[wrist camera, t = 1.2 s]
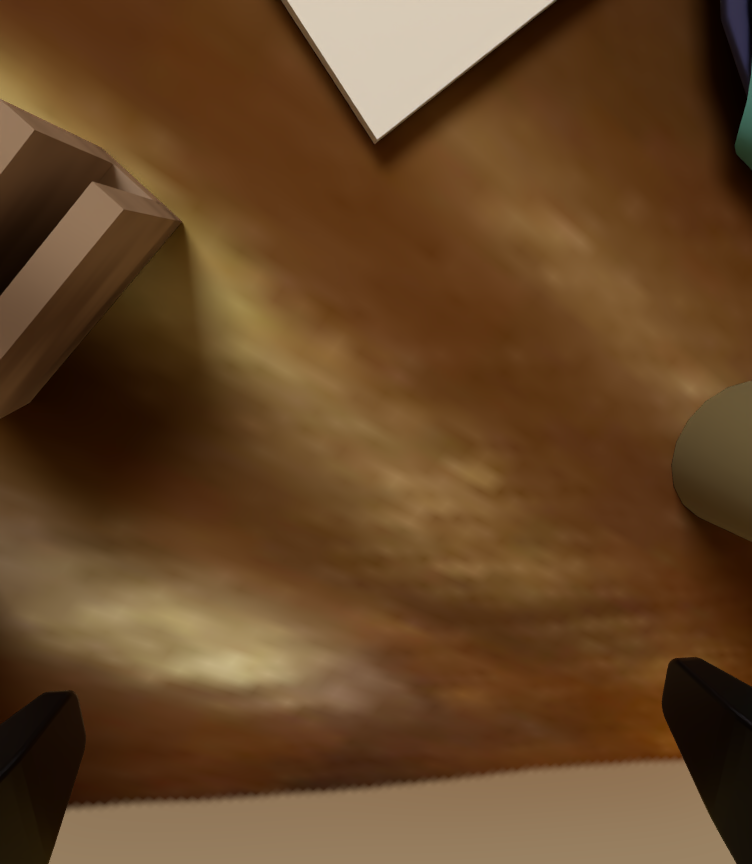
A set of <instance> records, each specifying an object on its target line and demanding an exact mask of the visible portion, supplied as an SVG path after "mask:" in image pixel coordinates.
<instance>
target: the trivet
mask: <svg viewBox="0 0 752 864" xmlns="http://www.w3.org/2000/svg"><path fill="white" fill-rule="evenodd" d="M281 1H282V2H283V4H284V6H285V7H286V9H287V10H288V12H289V13H290V15H291V16H292V18H293V19H294V21H295V22H296V24H297V26H298V27H299V29H300V30H301V32H302V33H303V35H304V36H305V38H306V39H307V41H308V43H309V44H310V46H311V47H312V49H313V50H314V52H315V53H316V55H317V56H318V58H319V59H320V61H321V63H322V64H323V66H324V67H325V69H326V70H327V72H328V73H329V75H330V76H331V78H332V80H333V81H334V83H335V84H336V86H337V87H338V89H339V90H340V92H341V93H342V95H343V96H344V98H345V100H346V101H347V103H348V104H349V106H350V107H351V109H352V110H353V112H354V113H355V115H356V117H357V118H358V120H359V121H360V123H361V124H362V126H363V127H364V129H365V130H366V132H367V133H368V135H369V137H370V138H371V140H372V141H373V143H374V144H375V143H377V142H378V141H379V140H381V139H382V138H383V137H384V136H386V135H387V134H388V133H389V132H391V131H392V130H393V129H395V128H396V127H397V126H398V125H400V124H401V123H402V122H403V121H405V120H406V119H407V118H408V117H410V116H411V115H412V114H414V113H415V112H416V111H417V110H419V109H420V108H421V107H422V106H424V105H425V104H426V103H428V102H429V101H430V100H431V99H433V98H434V97H435V96H436V95H438V94H439V93H440V92H441V91H443V90H444V89H445V88H447V87H448V86H449V85H450V84H452V83H453V82H454V81H455V80H457V79H458V78H459V77H460V76H462V75H463V74H464V73H466V72H467V71H468V70H469V69H471V68H472V67H473V66H474V65H476V64H477V63H478V62H480V61H481V60H482V59H483V58H485V57H486V56H487V55H488V54H490V53H491V52H492V51H493V50H495V49H496V48H497V47H499V46H500V45H501V44H502V43H504V42H505V41H506V40H507V39H509V38H510V37H511V36H513V35H514V34H515V33H516V32H518V31H519V30H520V29H521V28H523V27H524V26H525V25H526V24H528V23H529V22H530V21H532V20H533V19H534V18H535V17H537V16H538V15H539V14H540V13H542V12H543V11H544V10H545V9H547V8H548V7H549V6H551V5H552V4H553V3H554V2H556V1H557V0H281Z"/></svg>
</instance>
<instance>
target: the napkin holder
mask: <svg viewBox="0 0 752 864" xmlns="http://www.w3.org/2000/svg"><path fill="white" fill-rule="evenodd" d="M181 222H182V221H181V220H180V219H179V218H178V217H177V216H176V215H174V214H173V213H172V212H171V211H170V210H169V209H168V208H167V207H166V206H165V205H163V204H162V203H161V202H160V201H159V200H158V199H157V198H156V197H155V196H154V195H153V194H151V193H150V192H149V191H148V190H147V189H146V188H145V187H144V186H143V185H142V184H141V183H139V182H138V181H137V180H136V179H135V178H134V177H133V176H132V175H131V174H130V173H129V172H127V171H126V170H125V169H124V168H123V167H122V166H121V165H120V164H119V163H118V162H117V161H115V160H114V159H113V158H112V157H111V156H110V155H109V154H108V153H107V152H106V151H105V150H103V149H102V148H101V147H99V146H97V145H95V144H93V143H91V142H89V141H86V140H84V139H82V138H80V137H78V136H76V135H74V134H72V133H70V132H68V131H66V130H64V129H62V128H59V127H57V126H55V125H53V124H51V123H49V122H47V121H45V120H43V119H41V118H39V117H37V116H35V115H32V114H30V113H28V112H26V111H24V110H22V109H20V108H18V107H16V106H14V105H12V104H10V103H8V102H5V101H3V100H1V99H0V419H1V418H3V417H4V416H6V415H8V414H10V413H12V412H14V411H15V410H17V409H19V408H21V407H23V406H25V405H27V404H28V403H30V402H31V401H32V399H33V398H34V397H35V396H36V395H37V393H38V392H39V391H40V390H41V389H42V387H43V386H44V385H45V384H46V383H47V382H48V380H49V379H50V378H51V377H52V376H53V374H54V373H55V372H56V371H57V370H58V368H59V367H60V366H61V365H62V364H63V363H64V361H65V360H66V359H67V358H68V357H69V355H70V354H71V353H72V352H73V351H74V349H75V348H76V347H77V346H78V345H79V344H80V342H81V341H82V340H83V339H84V338H85V336H86V335H87V334H88V333H89V332H90V330H91V329H92V328H93V327H94V326H95V325H96V323H97V322H98V321H99V320H100V319H101V317H102V316H103V315H104V314H105V313H106V311H107V310H108V309H109V308H110V307H111V306H112V304H113V303H114V302H115V301H116V300H117V298H118V297H119V296H120V295H121V294H122V293H123V291H124V290H125V289H126V288H127V287H128V285H129V284H130V283H131V282H132V281H133V279H134V278H135V277H136V276H137V275H138V274H139V272H140V271H141V270H142V269H143V268H144V266H145V265H146V264H147V263H148V262H149V260H150V259H151V258H152V257H153V256H154V255H155V253H156V252H157V251H158V250H159V249H160V247H161V246H162V245H163V244H164V243H165V241H166V240H167V239H168V238H169V237H170V236H171V234H172V233H173V232H174V231H175V230H176V228H177V227H178V226H179V225H180V224H181Z"/></svg>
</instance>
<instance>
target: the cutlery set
mask: <svg viewBox="0 0 752 864" xmlns="http://www.w3.org/2000/svg"><path fill="white" fill-rule="evenodd" d="M720 13H721V22H722V25H723V28H724V31H725V34H726V37H727V40H728V43H729V46H730V49H731V52H732V55H733V58H734V60H735V63H736V66H737V69H738V72H739V75H740V78H741V81H742V84H743V87H744V90H745V93H746V96H747V103H746V106H745V110H744V113H743V117H742V120H741V124H740V127H739V131H738V135H737V139H736V142H735V150H736V154H737V155H738V156H739V157H740V158H741V159H742V160H743V161H744V162H745V163H746V164H747V165H748V166H749V168H750V169H751V170H752V0H720Z"/></svg>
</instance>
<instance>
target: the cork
mask: <svg viewBox="0 0 752 864" xmlns="http://www.w3.org/2000/svg"><path fill="white" fill-rule="evenodd" d="M672 474H673V483H674V488H675V490H676V491H677V493H678V495H679V497H680V499H681V501H682V503H683V505H685V506H686V507H687V508H688V509H689V510H690V511H692V512H693V513H694V514H695V515H696V516H697V517H699V518H702V519H704V520H706V521H708V522H710V523H712V524H714V525H717V526H719V527H721V528H723V529H725V530H727V531H729V532H732V533H734V534H736V535H738V536H740V537H742V538H744V539H746V540H749V541H751V542H752V381H749V382H745V383H742V384H738V385H735V386H732V387H728V388H726V389H725V390H723V391H722V392H720V393H718V394H717V395H715V396H714V397H712V398H710V399H709V400H707V401H706V402H705V403H704V404H703V405H702V406H701V407H700V408H699V409H698V410H697V411H696V413H695V414H694V415H693V416H692V417H691V418H690V419H689V420H688V422H687V424H686V426H685V427H684V429H683V431H682V433H681V435H680V437H679V438H678V440H677V442H676V447H675V451H674V456H673V461H672Z"/></svg>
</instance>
